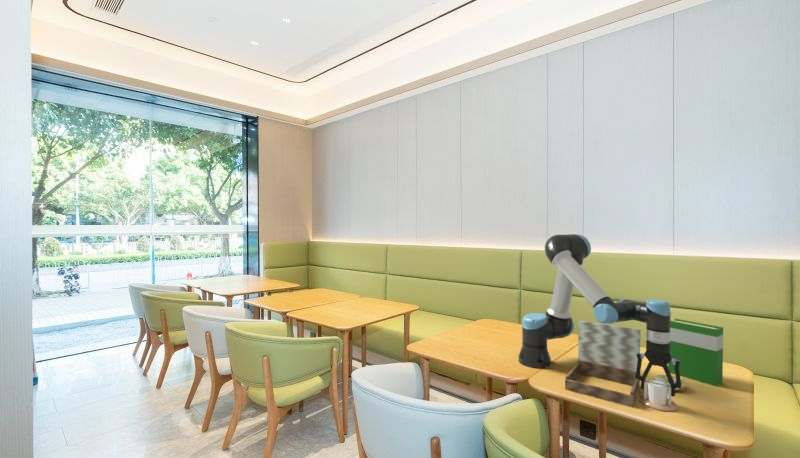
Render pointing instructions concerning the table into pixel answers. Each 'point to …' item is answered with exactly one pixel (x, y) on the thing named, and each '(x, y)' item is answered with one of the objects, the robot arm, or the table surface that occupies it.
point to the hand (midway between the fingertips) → (657, 400)
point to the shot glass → (657, 392)
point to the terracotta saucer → (658, 407)
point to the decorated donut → (664, 379)
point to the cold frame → (606, 360)
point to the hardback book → (697, 351)
